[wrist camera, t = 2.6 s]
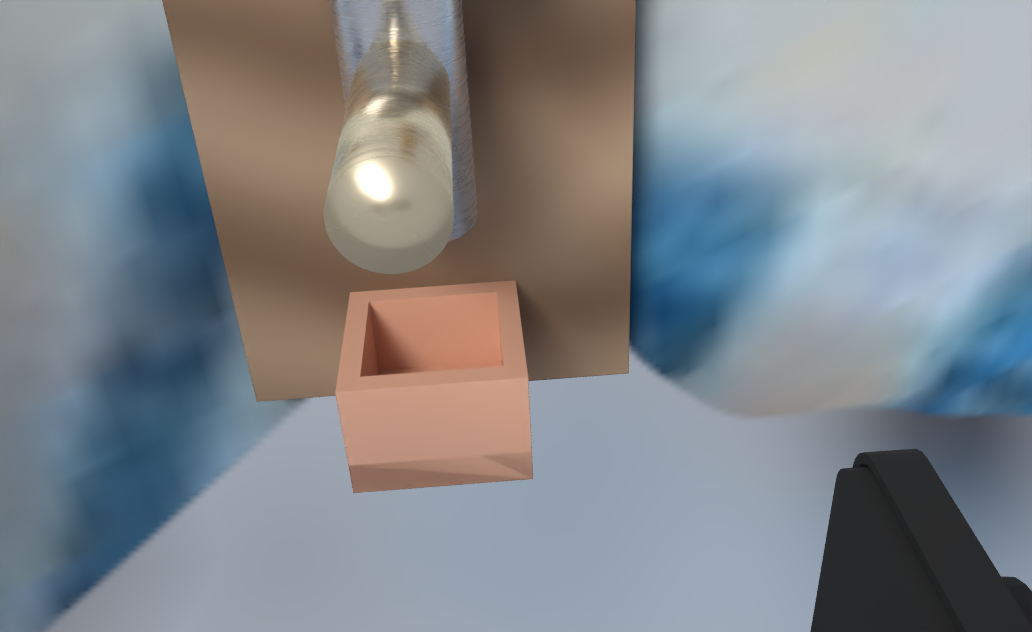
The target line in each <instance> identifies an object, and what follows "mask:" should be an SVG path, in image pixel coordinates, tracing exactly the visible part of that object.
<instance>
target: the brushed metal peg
mask: <svg viewBox="0 0 1032 632" xmlns="http://www.w3.org/2000/svg"><path fill="white" fill-rule="evenodd" d="M330 5H331V12H332V19H333V26H334V33H335V40H336V47H337V54H338V60H339V67H340V74H341V81H342V88H343V95H344V102H345V109H346V111H345V115H344V120H343V124H342V129H341V133H340V138H339V142H338V147H337V151H336V156H335V160H334V165H333V169H332V174H331V178H330V182H329V187H328V191H327V196H326V200H325V205H324V223H325V227H326V231H327V233H328V236H329V238H330V240H331V242H332V243H333V245H334V246H335V247H336V249H337V250H338V251H339V252H340V253H341V254H342V255H343V256H344V257H345V258H346V259H348V260H349V261H350V262H352V263H353V264H355V265H357V266H359V267H361V268H363V269H366V270H369V271H372V272H377V273H383V274H399V273H406V272H410V271H413V270H416V269H418V268H421V267H423V266H424V265H426V264H428V263H429V262H431V261H432V260H433V259H435V258H436V257H437V256H438V255H439V254H440V253H441V251H442V250H443V249H444V248H445V246H446V244H447V243H448V242H450V241H452V240H455V239H457V238H459V237H461V236H463V235H465V234H466V233H468V232H469V231H470V230H471V229H472V228H473V227H474V226H475V224H476V222H477V218H478V214H477V201H476V187H475V174H474V160H473V147H472V134H471V120H470V107H469V93H468V80H467V66H466V53H465V39H464V26H463V13H462V0H330Z"/></svg>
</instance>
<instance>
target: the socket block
mask: <svg viewBox="0 0 1032 632" xmlns="http://www.w3.org/2000/svg"><path fill="white" fill-rule="evenodd" d="M335 394H336V399H337V405H338V410H339V415H340V421H341V426H342V432H343V438H344V443H345V449H346V454H347V460H348V465H349V471H350V477H351V482H352V488H353V493H360V492H372V491H386V490H398V489H411V488H424V487H436V486H449V485H462V484H474V483H486V482H499V481H512V480H524V479H533V468H532V446H531V427H530V426H531V425H530V405H529V384H528V372H527V364H526V357H525V349H524V341H523V333H522V326H521V318H520V310H519V302H518V295H517V287H516V280H513V281H499V282H486V283H472V284H458V285H444V286H431V287H417V288H403V289H390V290H376V291H362V292H350V296H349V303H348V310H347V316H346V323H345V330H344V337H343V343H342V350H341V357H340V363H339V370H338V377H337V384H336V390H335Z"/></svg>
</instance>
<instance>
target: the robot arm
mask: <svg viewBox="0 0 1032 632" xmlns="http://www.w3.org/2000/svg"><path fill="white" fill-rule="evenodd" d="M811 632H1032V591H1031V590H1030V589H1029V588H1028V586H1027V585H1026V584H1024V583H1023V582H1021V581H1020V580H1018V579H1017V578H1015V577H1001V576H1000V575H999V573H998V571H997V570H996V568H995V567H994V565H993V563H992V562H991V560H990V558H989V557H988V555H987V554H986V552H985V550H984V549H983V547H982V545H981V544H980V542H979V541H978V539H977V537H976V536H975V534H974V533H973V531H972V529H971V528H970V526H969V525H968V523H967V521H966V520H965V518H964V517H963V515H962V513H961V512H960V510H959V508H958V507H957V505H956V504H955V502H954V500H953V499H952V497H951V496H950V494H949V493H948V491H947V489H946V488H945V486H944V484H943V483H942V481H941V480H940V478H939V476H938V475H937V473H936V472H935V470H934V468H933V467H932V465H931V464H930V462H929V460H928V459H927V458H926V456H925V455H924V454H923V453H922V452H921V451H919V450H917V449H909V450H908V449H907V450H893V451H878V452H864V453H860V454H859V455H858V456H857V457H856V459H855V461H854V464H853V468H845V469H840V471H839V472H838V474H837V478H836V483H835V489H834V496H833V501H832V507H831V514H830V519H829V525H828V532H827V537H826V544H825V549H824V556H823V562H822V567H821V573H820V579H819V585H818V591H817V597H816V603H815V609H814V615H813V621H812V627H811Z"/></svg>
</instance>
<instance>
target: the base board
mask: <svg viewBox="0 0 1032 632" xmlns="http://www.w3.org/2000/svg"><path fill="white" fill-rule="evenodd" d="M162 1H163V6H164V10H165V14H166V18H167V23H168V27H169V31H170V35H171V40H172V44H173V48H174V52H175V57H176V61H177V65H178V69H179V74H180V78H181V82H182V86H183V91H184V95H185V99H186V103H187V107H188V112H189V116H190V120H191V124H192V129H193V133H194V137H195V141H196V146H197V150H198V154H199V158H200V163H201V167H202V171H203V175H204V180H205V184H206V188H207V192H208V197H209V201H210V205H211V209H212V213H213V218H214V222H215V226H216V230H217V235H218V239H219V243H220V247H221V252H222V256H223V260H224V264H225V269H226V273H227V277H228V281H229V286H230V290H231V294H232V298H233V303H234V307H235V311H236V315H237V320H238V324H239V328H240V332H241V336H242V341H243V345H244V349H245V353H246V358H247V362H248V366H249V370H250V375H251V379H252V383H253V387H254V392H255V396H256V400H257V402H258V401H271V400H284V399H297V398H311V397H324V396H336V394H335V390H336V384H337V377H338V370H339V363H340V357H341V350H342V343H343V337H344V330H345V323H346V316H347V310H348V303H349V296H350V292H362V291H376V290H390V289H403V288H417V287H431V286H444V285H458V284H472V283H486V282H499V281H513V280H516V287H517V295H518V302H519V310H520V318H521V326H522V333H523V341H524V349H525V357H526V364H527V372H528V381H534V380H547V379H560V378H573V377H586V376H599V375H612V374H626V373H629V326H630V275H631V224H632V173H633V122H634V71H635V20H636V0H462V13H463V26H464V39H465V53H466V66H467V80H468V93H469V107H470V120H471V134H472V147H473V160H474V174H475V187H476V201H477V214H478V218H477V222H476V224H475V226H474V227H473V228H472V229H471V230H470V231H469V232H468V233H466V234H465V235H463V236H461V237H459V238H457V239H455V240H452V241H450V242H448V243H447V244H446V246H445V248H444V249H443V250H442V251H441V253H440V254H439V255H438V256H437V257H436V258H435V259H433V260H432V261H431V262H429V263H428V264H426V265H424V266H423V267H421V268H418V269H416V270H413V271H410V272H406V273H399V274H383V273H377V272H372V271H369V270H366V269H363V268H361V267H359V266H357V265H355V264H353V263H352V262H350V261H349V260H348V259H346V258H345V257H344V256H343V255H342V254H341V253H340V252H339V251H338V250H337V249H336V247H335V246H334V245H333V243H332V242H331V240H330V238H329V236H328V233H327V231H326V227H325V223H324V205H325V200H326V196H327V191H328V187H329V182H330V178H331V174H332V169H333V165H334V160H335V156H336V151H337V147H338V142H339V138H340V133H341V129H342V124H343V120H344V115H345V111H346V109H345V102H344V95H343V88H342V81H341V74H340V67H339V60H338V54H337V47H336V40H335V33H334V26H333V19H332V12H331V5H330V0H162Z"/></svg>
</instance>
